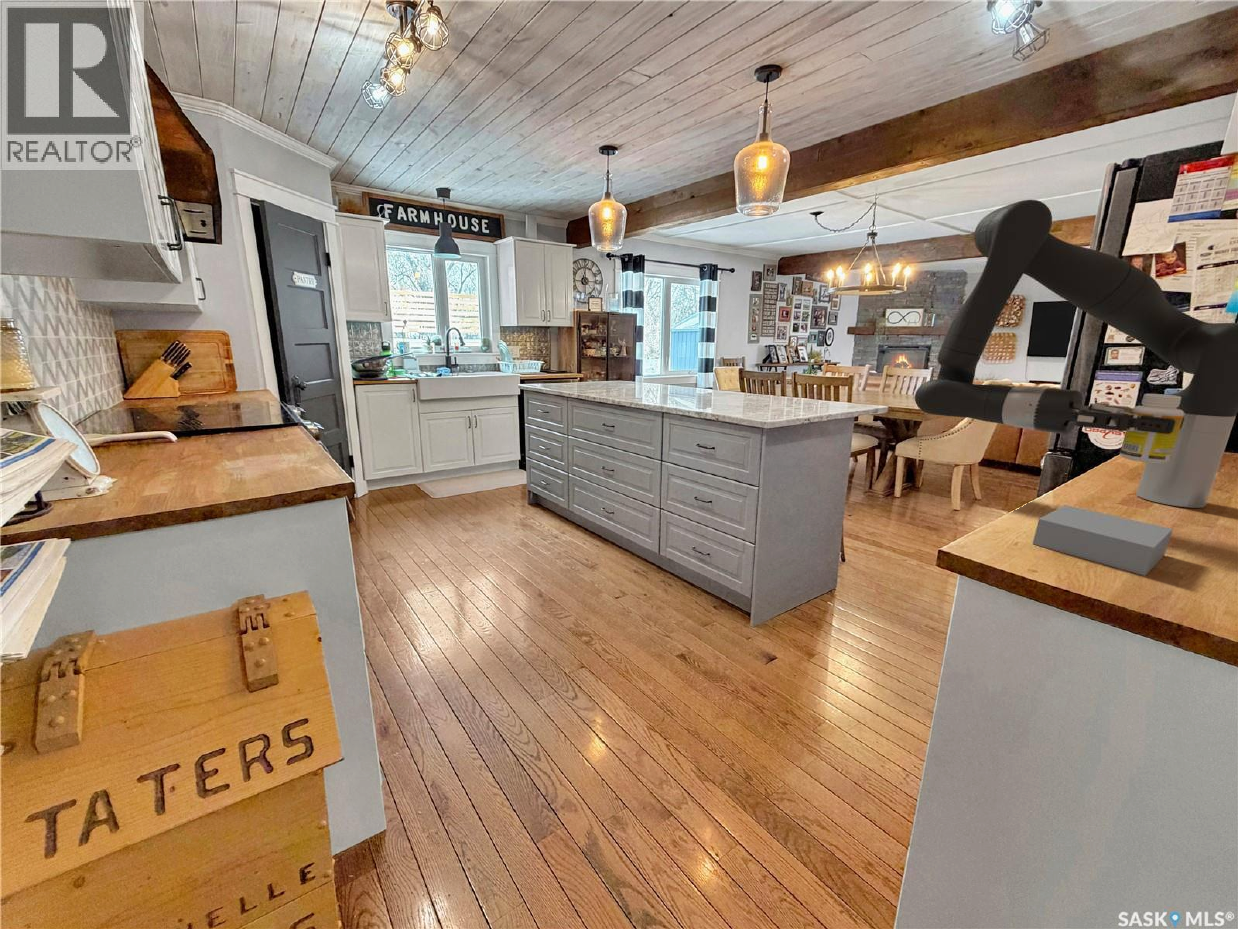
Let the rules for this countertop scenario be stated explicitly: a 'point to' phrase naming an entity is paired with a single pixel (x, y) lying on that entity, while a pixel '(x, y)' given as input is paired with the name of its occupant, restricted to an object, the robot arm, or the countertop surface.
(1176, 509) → the countertop surface
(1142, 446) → the supplement bottle
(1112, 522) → the slate block
